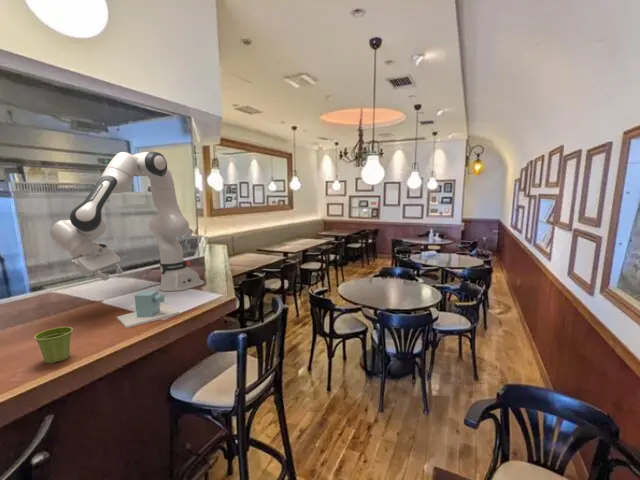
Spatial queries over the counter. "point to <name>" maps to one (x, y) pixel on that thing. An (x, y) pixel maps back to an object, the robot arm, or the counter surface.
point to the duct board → (133, 320)
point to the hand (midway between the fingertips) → (114, 275)
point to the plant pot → (55, 343)
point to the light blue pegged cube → (148, 303)
